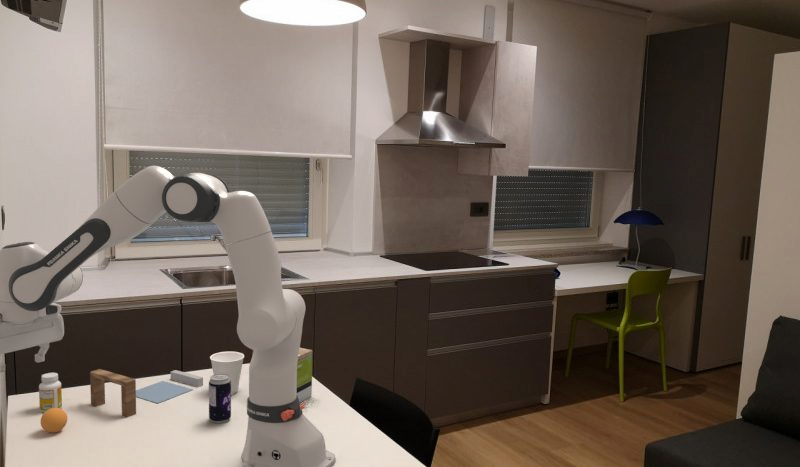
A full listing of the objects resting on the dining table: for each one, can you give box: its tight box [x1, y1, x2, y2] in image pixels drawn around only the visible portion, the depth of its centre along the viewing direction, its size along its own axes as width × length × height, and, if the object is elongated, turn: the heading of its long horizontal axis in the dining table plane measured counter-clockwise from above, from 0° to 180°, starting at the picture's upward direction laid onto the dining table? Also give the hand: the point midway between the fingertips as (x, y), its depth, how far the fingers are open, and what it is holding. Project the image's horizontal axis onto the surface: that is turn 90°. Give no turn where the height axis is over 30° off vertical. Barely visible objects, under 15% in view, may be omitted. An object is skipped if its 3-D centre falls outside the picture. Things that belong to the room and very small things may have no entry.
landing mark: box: [136, 380, 194, 404], centre depth 193 cm, size 13×13×1 cm
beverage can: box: [208, 374, 232, 424], centre depth 174 cm, size 6×6×12 cm
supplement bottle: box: [38, 372, 63, 413], centre depth 178 cm, size 5×5×10 cm
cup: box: [209, 351, 245, 396], centre depth 194 cm, size 10×10×11 cm
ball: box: [40, 408, 68, 433], centre depth 164 cm, size 6×6×6 cm
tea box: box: [251, 347, 313, 404], centre depth 191 cm, size 15×10×15 cm, turn 62°
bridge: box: [89, 368, 137, 418], centre depth 179 cm, size 15×3×10 cm, turn 61°
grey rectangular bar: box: [170, 369, 204, 388], centre depth 201 cm, size 12×2×2 cm, turn 61°
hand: (20, 366), depth 156 cm, fingers open, 8 cm apart
